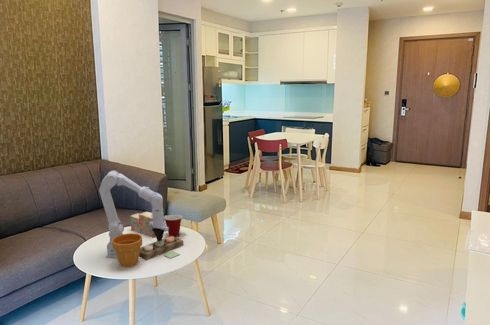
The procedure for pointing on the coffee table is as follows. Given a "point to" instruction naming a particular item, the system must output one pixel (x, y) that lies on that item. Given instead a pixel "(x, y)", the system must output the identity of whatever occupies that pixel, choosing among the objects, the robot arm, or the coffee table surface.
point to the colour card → (171, 254)
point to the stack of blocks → (142, 223)
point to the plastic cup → (173, 224)
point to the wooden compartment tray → (160, 248)
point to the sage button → (159, 243)
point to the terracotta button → (170, 239)
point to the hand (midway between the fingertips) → (159, 240)
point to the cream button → (148, 248)
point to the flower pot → (127, 248)
